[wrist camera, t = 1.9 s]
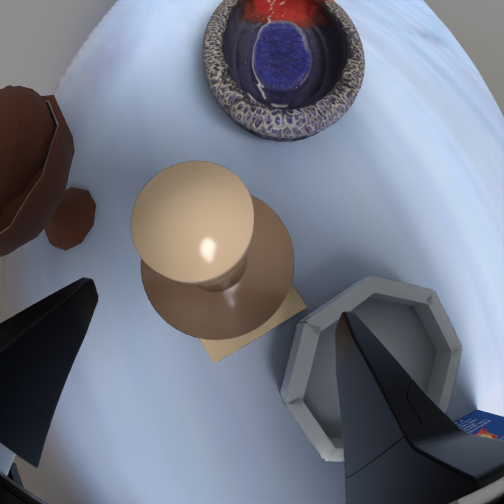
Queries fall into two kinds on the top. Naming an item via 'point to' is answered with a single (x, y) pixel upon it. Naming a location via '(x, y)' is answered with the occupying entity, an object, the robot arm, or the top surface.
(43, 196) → the ice cream bowl
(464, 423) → the pasta box
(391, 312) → the slate dish
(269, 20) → the dish
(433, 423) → the robot arm
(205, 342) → the coaster
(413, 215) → the top surface
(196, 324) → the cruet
